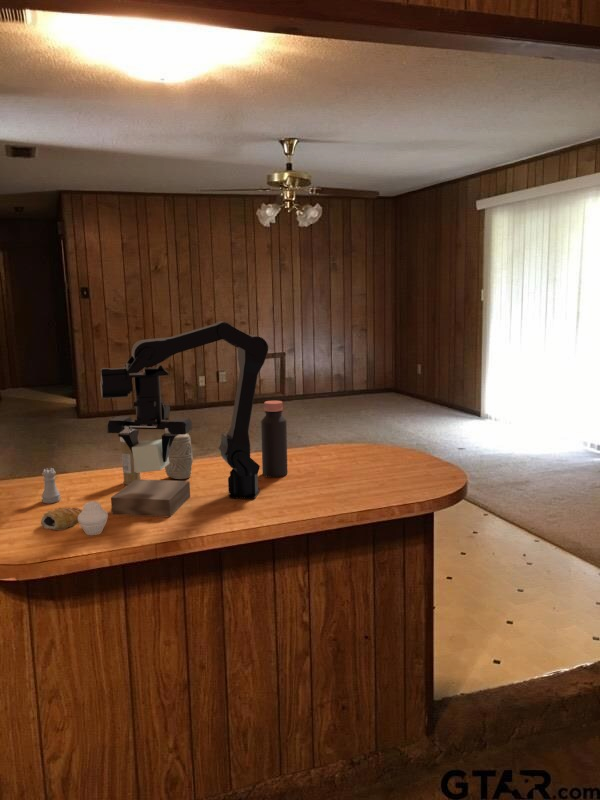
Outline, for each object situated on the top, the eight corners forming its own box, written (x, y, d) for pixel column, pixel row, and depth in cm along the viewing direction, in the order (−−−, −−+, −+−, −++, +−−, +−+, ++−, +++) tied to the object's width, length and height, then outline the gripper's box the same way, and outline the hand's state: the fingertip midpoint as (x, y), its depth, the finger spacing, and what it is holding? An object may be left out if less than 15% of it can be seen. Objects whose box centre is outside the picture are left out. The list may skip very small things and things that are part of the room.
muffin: (109, 536, 142) (106, 504, 140) (78, 539, 140) (75, 507, 139) (108, 525, 147) (106, 495, 146) (79, 529, 146) (76, 498, 144)
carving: (197, 478, 181) (195, 434, 179) (171, 483, 177) (169, 438, 175) (187, 472, 186) (185, 430, 184) (161, 477, 182) (159, 434, 180)
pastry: (72, 514, 155) (71, 498, 155) (93, 520, 152) (92, 503, 151) (38, 527, 147) (37, 511, 147) (59, 533, 144) (58, 516, 143)
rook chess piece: (64, 498, 166) (62, 467, 164) (52, 504, 162) (50, 472, 160) (49, 497, 167) (47, 466, 166) (37, 503, 163) (34, 471, 162)
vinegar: (292, 472, 184) (290, 401, 181) (278, 479, 179) (276, 405, 175) (271, 469, 188) (270, 398, 184) (257, 475, 182) (255, 403, 179)
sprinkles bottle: (143, 483, 177) (140, 433, 174) (126, 486, 174) (123, 436, 172) (137, 479, 181) (134, 430, 178) (120, 482, 178) (117, 433, 176)
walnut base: (190, 496, 166) (189, 481, 165) (170, 516, 152) (169, 499, 151) (136, 494, 168) (135, 479, 167) (112, 514, 154) (110, 497, 154)
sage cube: (169, 463, 160) (165, 438, 159) (160, 470, 154) (156, 444, 153) (145, 465, 161) (141, 441, 160) (136, 472, 155) (131, 447, 154)
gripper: (197, 390, 161) (200, 453, 164) (123, 389, 163) (127, 451, 166) (183, 398, 150) (186, 466, 153) (103, 397, 152) (108, 464, 155)
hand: (151, 461), depth 157 cm, fingers closed on sage cube, 6 cm apart
